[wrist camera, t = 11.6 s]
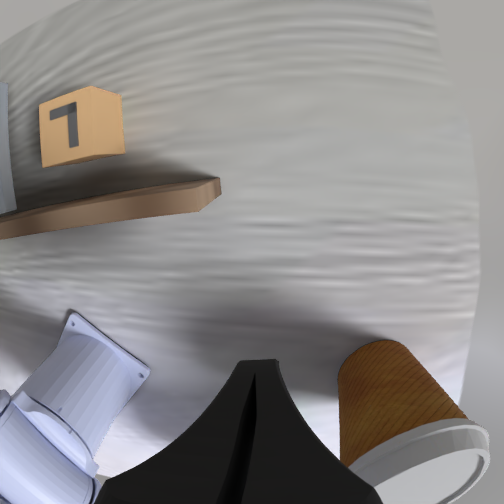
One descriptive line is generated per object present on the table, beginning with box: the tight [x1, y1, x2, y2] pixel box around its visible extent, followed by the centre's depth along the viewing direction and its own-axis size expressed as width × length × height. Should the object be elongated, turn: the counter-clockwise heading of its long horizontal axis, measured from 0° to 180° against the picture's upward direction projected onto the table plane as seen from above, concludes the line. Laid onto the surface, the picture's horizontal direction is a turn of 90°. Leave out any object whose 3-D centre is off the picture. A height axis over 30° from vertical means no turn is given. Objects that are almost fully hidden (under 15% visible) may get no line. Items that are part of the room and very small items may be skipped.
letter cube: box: [39, 86, 125, 168], centre depth 16 cm, size 4×4×4 cm
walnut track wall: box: [0, 178, 221, 240], centre depth 17 cm, size 20×1×6 cm, turn 96°
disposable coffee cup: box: [338, 340, 490, 504], centre depth 17 cm, size 10×10×12 cm
